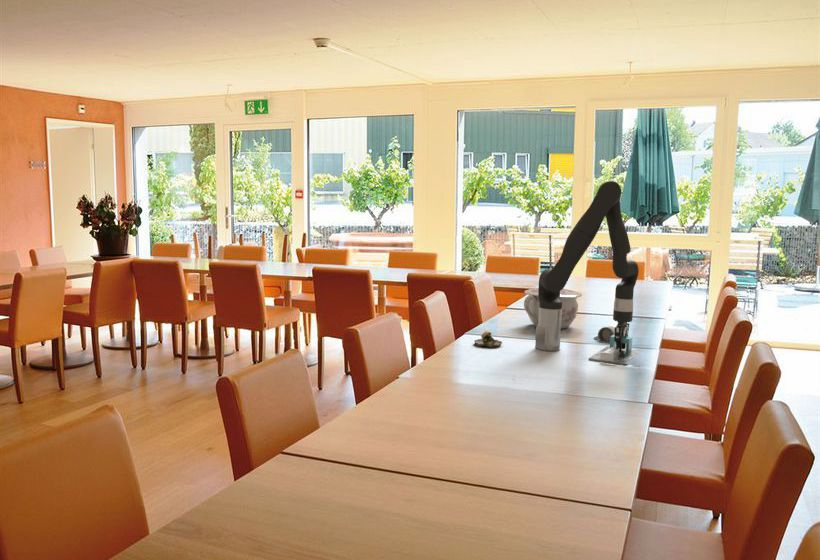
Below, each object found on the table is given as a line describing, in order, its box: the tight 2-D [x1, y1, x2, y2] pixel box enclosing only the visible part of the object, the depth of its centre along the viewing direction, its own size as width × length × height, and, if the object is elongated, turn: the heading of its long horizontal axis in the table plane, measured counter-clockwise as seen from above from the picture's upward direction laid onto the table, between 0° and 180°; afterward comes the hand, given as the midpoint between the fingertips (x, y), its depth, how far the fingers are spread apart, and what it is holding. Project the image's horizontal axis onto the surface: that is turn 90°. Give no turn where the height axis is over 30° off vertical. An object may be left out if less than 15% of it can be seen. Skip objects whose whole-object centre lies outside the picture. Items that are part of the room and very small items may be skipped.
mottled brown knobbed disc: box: [473, 330, 503, 348], centre depth 293 cm, size 12×12×8 cm
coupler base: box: [588, 346, 642, 367], centre depth 278 cm, size 26×14×4 cm, turn 149°
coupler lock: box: [609, 335, 633, 354], centre depth 284 cm, size 5×8×6 cm, turn 59°
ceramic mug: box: [593, 325, 616, 343], centre depth 306 cm, size 10×8×7 cm
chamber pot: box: [523, 287, 583, 330], centre depth 337 cm, size 28×28×21 cm
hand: (620, 349), depth 284 cm, fingers open, 5 cm apart
